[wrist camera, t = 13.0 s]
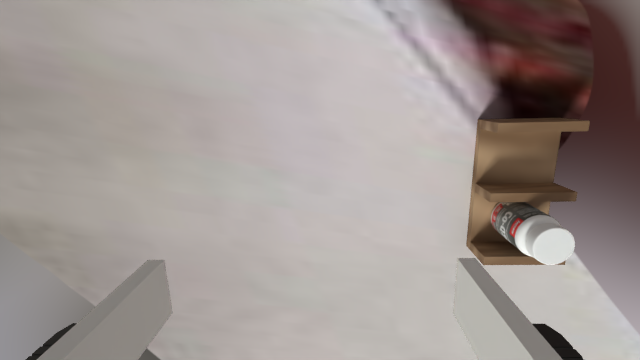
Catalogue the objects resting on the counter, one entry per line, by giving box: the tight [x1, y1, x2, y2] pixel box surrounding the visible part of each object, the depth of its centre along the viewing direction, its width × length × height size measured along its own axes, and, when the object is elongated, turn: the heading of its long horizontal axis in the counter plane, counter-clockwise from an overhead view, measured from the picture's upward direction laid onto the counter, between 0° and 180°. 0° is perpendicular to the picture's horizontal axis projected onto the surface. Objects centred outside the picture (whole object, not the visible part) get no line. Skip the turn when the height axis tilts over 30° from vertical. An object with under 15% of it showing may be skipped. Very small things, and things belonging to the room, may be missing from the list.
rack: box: [466, 118, 590, 265], centre depth 38 cm, size 16×9×5 cm, turn 2°
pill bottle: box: [491, 202, 575, 265], centre depth 36 cm, size 5×5×8 cm
